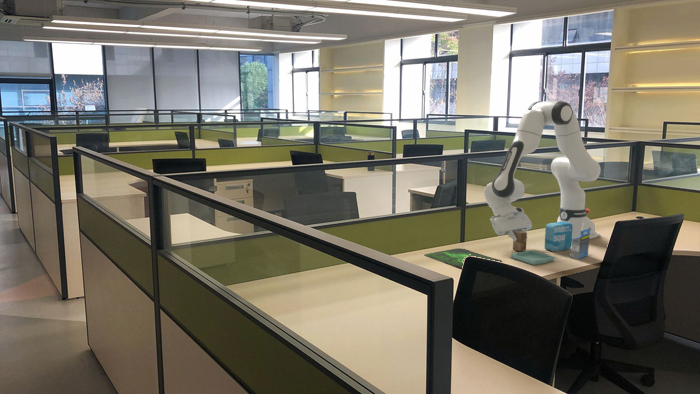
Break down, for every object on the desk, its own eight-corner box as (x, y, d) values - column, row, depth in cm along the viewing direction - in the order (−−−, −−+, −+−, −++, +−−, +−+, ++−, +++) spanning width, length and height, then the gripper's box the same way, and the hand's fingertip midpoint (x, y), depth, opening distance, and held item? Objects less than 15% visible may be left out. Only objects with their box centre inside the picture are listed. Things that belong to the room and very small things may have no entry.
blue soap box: (551, 252, 252) (553, 225, 249) (544, 249, 256) (545, 223, 253) (571, 249, 257) (573, 223, 255) (563, 246, 261) (565, 221, 259)
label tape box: (579, 253, 249) (581, 226, 246) (588, 255, 246) (590, 228, 243) (569, 257, 243) (571, 229, 240) (579, 259, 240) (581, 231, 238)
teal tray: (531, 254, 248) (531, 250, 247) (553, 261, 237) (553, 256, 237) (511, 258, 242) (511, 253, 241) (533, 265, 231) (533, 260, 231)
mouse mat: (421, 255, 248) (421, 253, 248) (459, 248, 259) (459, 246, 259) (464, 271, 225) (464, 269, 225) (504, 263, 236) (504, 260, 236)
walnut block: (519, 247, 256) (520, 230, 255) (526, 249, 253) (526, 232, 251) (512, 249, 254) (513, 231, 253) (519, 251, 251) (520, 233, 249)
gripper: (492, 213, 251) (508, 239, 245) (525, 208, 262) (541, 233, 255) (484, 221, 256) (500, 246, 249) (517, 215, 266) (532, 240, 260)
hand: (521, 239), depth 252 cm, fingers closed on walnut block, 4 cm apart
